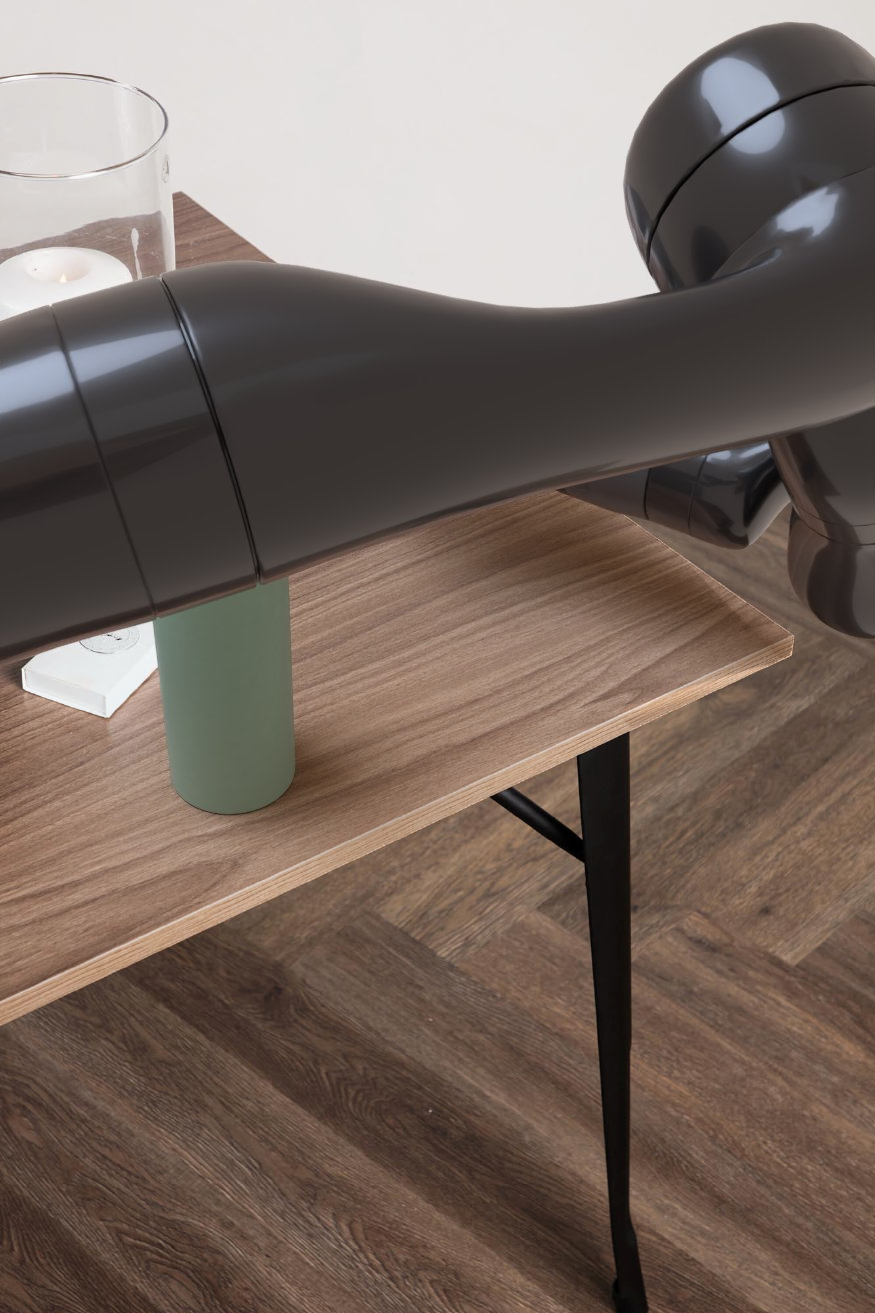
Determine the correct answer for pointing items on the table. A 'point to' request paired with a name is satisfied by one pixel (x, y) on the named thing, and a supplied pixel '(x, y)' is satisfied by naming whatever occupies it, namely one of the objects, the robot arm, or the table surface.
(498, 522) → the table surface
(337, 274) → the robot arm
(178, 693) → the water bottle
